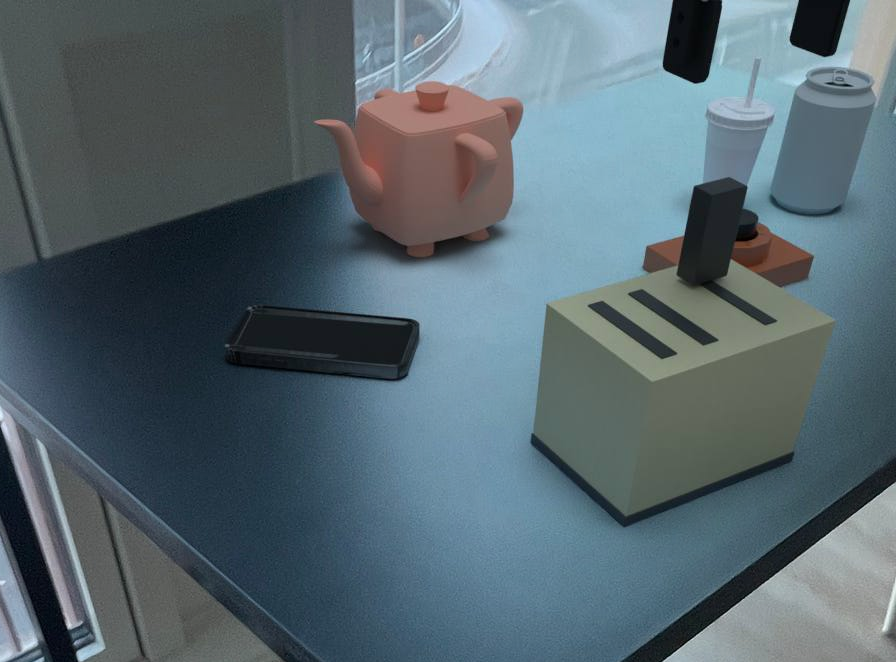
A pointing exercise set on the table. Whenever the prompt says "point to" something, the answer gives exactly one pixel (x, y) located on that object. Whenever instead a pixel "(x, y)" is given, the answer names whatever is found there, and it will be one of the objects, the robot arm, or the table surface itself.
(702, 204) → the toaster slider
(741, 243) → the control block
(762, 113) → the smoothie
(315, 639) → the table surface
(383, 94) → the teapot
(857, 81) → the can
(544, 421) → the toaster
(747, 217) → the button
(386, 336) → the phone
